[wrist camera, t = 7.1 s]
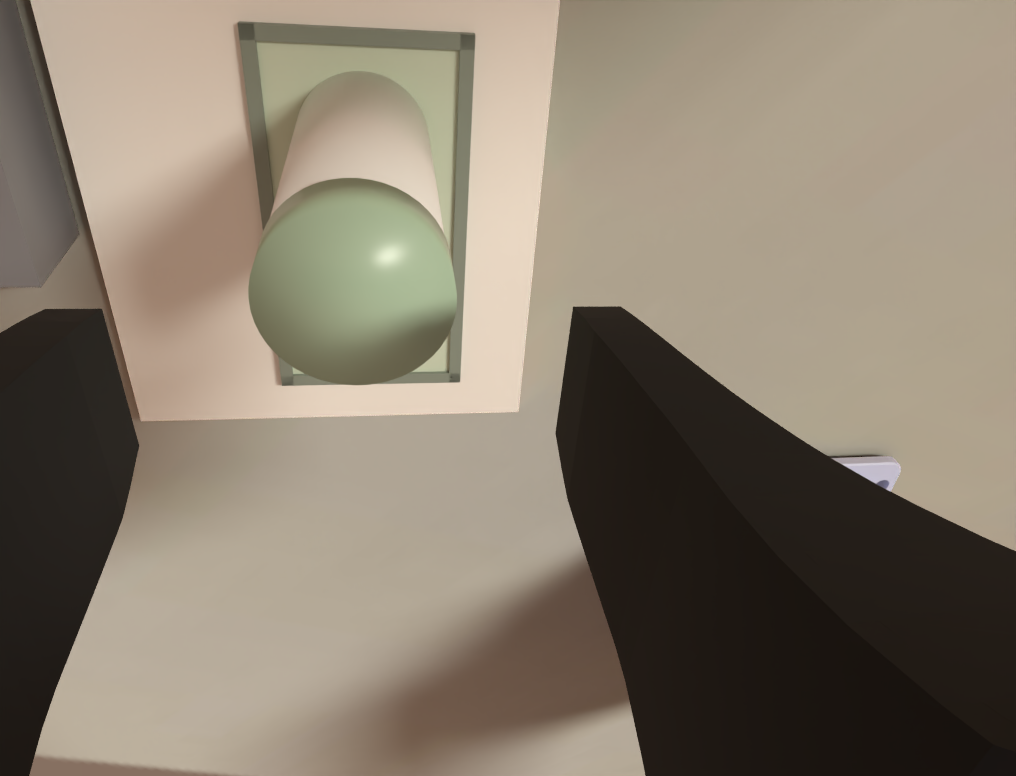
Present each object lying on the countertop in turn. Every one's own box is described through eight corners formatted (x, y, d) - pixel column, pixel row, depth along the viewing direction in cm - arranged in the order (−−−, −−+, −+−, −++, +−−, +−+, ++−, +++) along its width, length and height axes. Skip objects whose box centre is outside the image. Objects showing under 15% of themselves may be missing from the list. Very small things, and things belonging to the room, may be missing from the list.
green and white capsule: (427, 207, 18) (449, 386, 12) (296, 199, 17) (255, 383, 12) (435, 74, 16) (464, 212, 10) (290, 61, 15) (238, 199, 10)
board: (515, 398, 22) (519, 416, 21) (146, 407, 21) (139, 426, 20) (557, -34, 16) (564, -27, 15) (25, -67, 14) (9, -61, 14)
